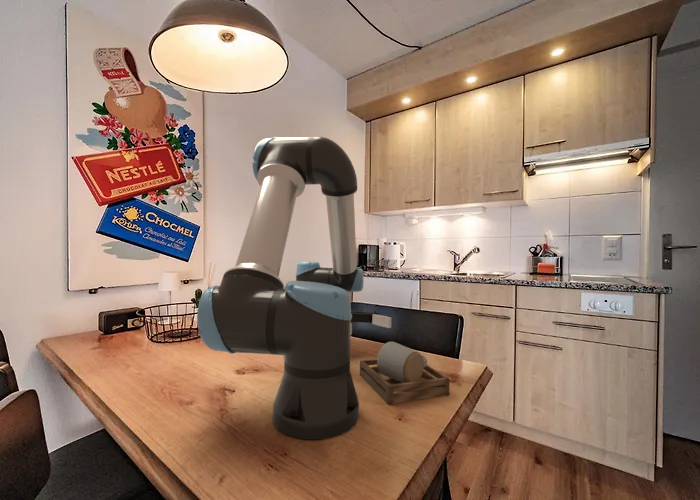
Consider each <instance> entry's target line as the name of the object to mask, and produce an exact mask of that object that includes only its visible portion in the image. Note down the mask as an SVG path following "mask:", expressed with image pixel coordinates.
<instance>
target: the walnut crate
mask: <svg viewBox="0 0 700 500" xmlns="http://www.w3.org/2000/svg"><path fill="white" fill-rule="evenodd" d="M359 376H360V377H361V378H362V379H363V380H364V381H365V382H366V383H367V385H369V387H371V388H372V389H373V390H374V392H376V393H377V394H378V395H379V397H380V398H381V399H382V400H383V401H384V402H385V403H386V404H388V405H394V404H395V405H396V404H401V403H407V402H413V401H421V400H426V399H433V398H440V397H445V396H446V397H447V396H450V378H449V377H448V376H446V375H444V374H443V373H441V372H439V371H438V370H436V369H434V368H432V367H431V366H429V364H427V366H425V367H424V370H423V374H422V376H421V378H420V379H419V381H416V382H408V383H402V382H399V381H397V380H395V379H392V378H390V377H387V376H385V375H383V374H381V373H380V371H379V370H378V366H377V358H373V359H372V358H371V359H362V360H359Z"/></svg>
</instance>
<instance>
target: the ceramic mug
mask: <svg viewBox="0 0 700 500" xmlns="http://www.w3.org/2000/svg"><path fill="white" fill-rule="evenodd" d="M376 359H377V365H376V366H378V370H379V371H380V373H381V374H383V375H385V376H387V377H390V378H392V379H395V380H397V381H399V382H402V383H408V382H416V381H419V379H420V378H421V376H422V374H423V371H425V370H424V367H425V366H427V365H428V358H427V356H425V355H422V354H421V353H420V352H419V351H417V350H415V349H413V348H410V347H408V346H406V345H402V344H400V343H398V342H395V341H388V342H386V343H384V345H382V346H381V348H380V349H379V352H378V354H377V358H376Z"/></svg>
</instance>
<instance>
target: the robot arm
mask: <svg viewBox="0 0 700 500" xmlns="http://www.w3.org/2000/svg"><path fill="white" fill-rule="evenodd" d="M252 159H253V162H252V169H253V170H252V171H253V175H254V177H255V179H256V181H257V183H258V185H259V190H258V193H257V197H256V200H255V203H254V206H253V209H252V213H251V216H250V218H249V222H248V226H247V228H246V231H245V235H244V238H243V241H242V242H241V243H242V244H241V246H240V250H239V253H238V256H237V260H236V262H235V265H234V267H231V268H229V269H227V270H226V271H225V272H224V273H223V276H222V279H221V283H220V284H219V285H217V284H216V285H212V286H209V287H207V289H205V290H204V291H203V292H202V294H201V297H200V299H199V301H198V305H197V313H196V314H197V315H196V319H197V320H196V321H197V322H196V323H197V328H198V332H199V336H200V338H201V340H202V342H203V343H204V345H205V346H206V347H207V348H208V349H210V350H213V351H216V352H223V353H224V352H226V353H229V354H232V355H233V354H236V353H238V354H257V355H272V356H273V355H277V356H278V355H279V356H283V359H284V362H283V363H284V365H283V366H284V367H283V368H284V369H283V375H282V378H281V380H280V384H279V387H278V390H277V393H276V396H275V398H274V400H273V401H274V402H273V406H272V422H273V425H274V427H275V428H276V429H277V430H278V431H279V432H281V433H283V434H285V435H287V436H290V437H292V438H295V439H296V438H297V439H303V440H323V439H330V438H333V437H334V438H335V437H337V436H341V435H343V434H345V433H346V432H348V431H350V430H351V429H353V428H354V427H355V426H356V425H357V423H358V421H359V419H360V401H359V398H358V394H357V391H356V386H355V383H354V380H353V377H352V374H351V336H352V335H353V323H367V324H369V323H370V324H372V325H374V326H379V327H382V328H386V329H391V328H392V317H390V316H386V315H380V312H377V310H374V311H373V312H370V311H360V310H352V303H351V302H352V301H351V296H350V294H349V293H359V292H362V291H363V289H364V281H365V279H364V277H365V276H364V269H362V268H358V265H357V263H358V262H357V243H356V242H357V240H356V218H355V217H356V215H355V214H356V213H355V194H356V193H357V192H358V178H357V174H356V170H355V166H354V165H353V163H352V160H351V159H350V157H349V155H348V154H347V153H346V151H345V150H344V149H343V148H342V147H341V146H340V145H339V144H338V143H337V142H335V141H333V140H332V139H330V138H327V137H324V136H308V137H307V136H304V137H302V136H300V137H296V136H295V137H285V136H284V137H283V136H282V137H278V136H273V137H269V138H268V137H267V138H264V139H262V140H260V141H259V142H258V143H257V144H256V146H255V148H254V151H253V156H252ZM306 185H320V188H321V193H322V195H324V196H325V200H326V201H325V202H326V210H327V211H326V212H327V219H328V220H327V221H328V229H329V240H330V241H329V242H330V248H331V249H330V251H331V252H330V253H331V263H332V267H321V266H320V263H319V262H318V261H299V262H297V264H296V274H295V280H291V281H290V280H289V281H288V282H286V285H284V282H283V281H282V280H281V278H280V277H279V275H280V271H281V267H282V261H283V256H284V253H285V248H286V246H287V245H286V244H287V241H288V240H287V239H288V237H289V235H288V234H289V231H290V228H291V223H292V217H293V214H294V210H295V205H296V200H297V198H298V197H300V196H301V195H302V194H303V193H304V192H305V188H306Z"/></svg>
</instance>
